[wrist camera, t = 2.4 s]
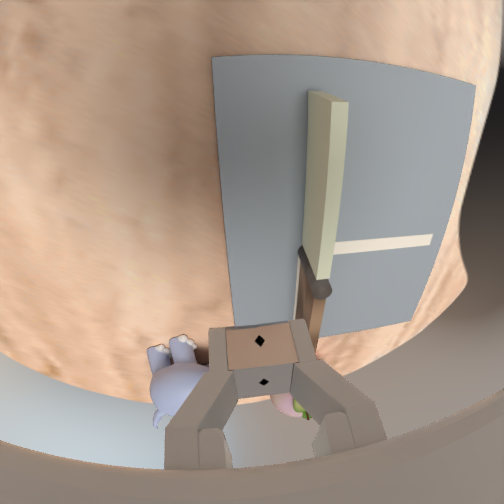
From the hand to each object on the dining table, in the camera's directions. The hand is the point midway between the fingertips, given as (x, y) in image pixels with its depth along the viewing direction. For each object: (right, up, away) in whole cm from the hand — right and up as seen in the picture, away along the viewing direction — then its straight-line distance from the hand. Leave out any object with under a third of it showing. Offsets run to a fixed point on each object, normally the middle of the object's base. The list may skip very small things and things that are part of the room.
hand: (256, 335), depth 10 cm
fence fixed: (+6, -3, +26) cm, 27 cm away
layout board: (+10, +5, +21) cm, 24 cm away
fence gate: (+5, +10, +17) cm, 20 cm away
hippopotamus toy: (-8, -12, +32) cm, 35 cm away
